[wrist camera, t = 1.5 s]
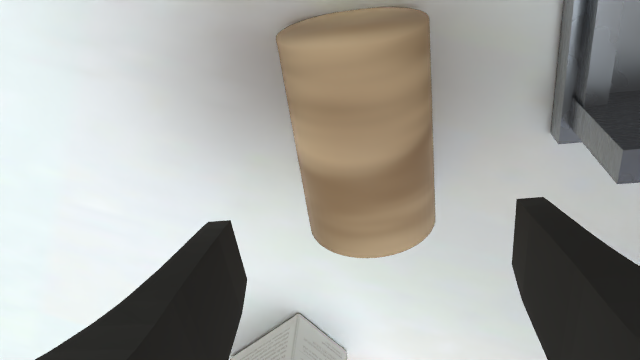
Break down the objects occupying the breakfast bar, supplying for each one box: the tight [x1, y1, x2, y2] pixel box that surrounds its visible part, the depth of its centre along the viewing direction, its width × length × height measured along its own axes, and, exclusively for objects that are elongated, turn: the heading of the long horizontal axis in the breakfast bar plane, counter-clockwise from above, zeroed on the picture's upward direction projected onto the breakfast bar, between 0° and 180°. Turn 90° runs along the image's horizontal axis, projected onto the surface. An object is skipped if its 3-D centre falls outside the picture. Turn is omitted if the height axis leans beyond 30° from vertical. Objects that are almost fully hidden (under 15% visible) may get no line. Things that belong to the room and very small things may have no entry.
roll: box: [276, 7, 435, 258], centre depth 19 cm, size 8×5×5 cm, turn 8°
